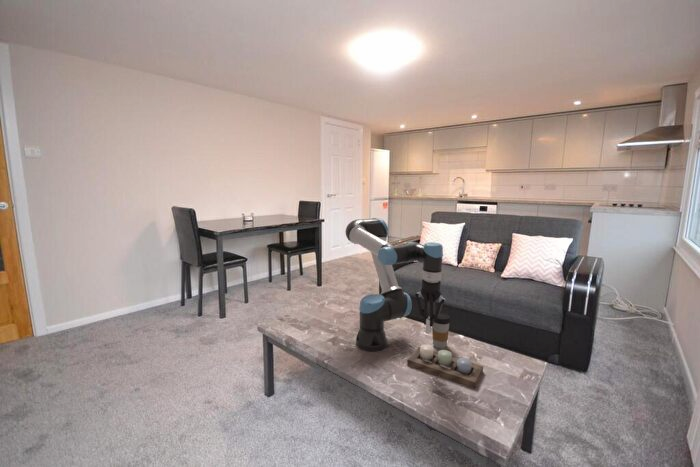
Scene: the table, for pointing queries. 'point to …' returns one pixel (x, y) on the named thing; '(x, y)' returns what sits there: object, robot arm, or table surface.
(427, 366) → the wooden tray
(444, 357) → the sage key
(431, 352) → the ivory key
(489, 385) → the table surface
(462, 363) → the pale blue rounded knob
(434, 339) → the coffee cup
